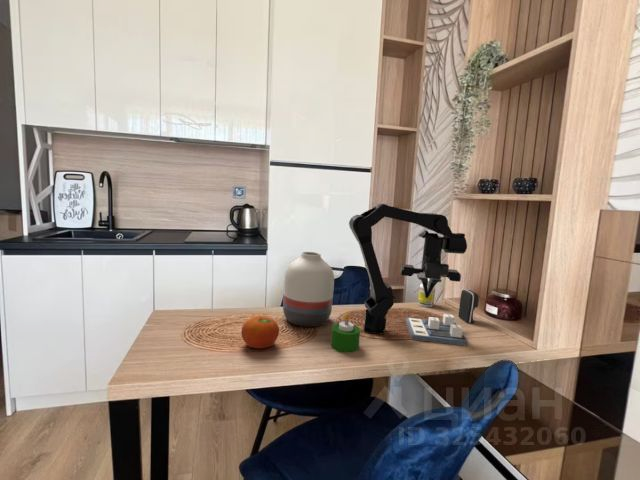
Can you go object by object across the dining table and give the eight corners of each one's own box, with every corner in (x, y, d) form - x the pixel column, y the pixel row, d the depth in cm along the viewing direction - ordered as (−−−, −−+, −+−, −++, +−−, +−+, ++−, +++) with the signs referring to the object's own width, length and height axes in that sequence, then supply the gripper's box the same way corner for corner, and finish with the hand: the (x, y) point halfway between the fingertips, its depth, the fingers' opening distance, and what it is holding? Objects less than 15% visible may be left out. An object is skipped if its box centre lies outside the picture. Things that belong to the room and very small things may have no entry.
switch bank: (411, 339, 113) (412, 333, 113) (405, 321, 129) (406, 316, 128) (466, 345, 111) (467, 339, 111) (453, 326, 127) (454, 321, 127)
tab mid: (429, 328, 118) (430, 319, 118) (427, 325, 121) (428, 316, 121) (438, 329, 118) (439, 320, 118) (436, 326, 121) (437, 317, 121)
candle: (326, 341, 107) (328, 310, 105) (350, 338, 110) (352, 308, 109) (338, 354, 99) (340, 320, 98) (363, 350, 103) (366, 317, 101)
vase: (313, 334, 111) (318, 260, 108) (271, 320, 120) (275, 252, 117) (339, 319, 126) (345, 254, 122) (300, 308, 134) (304, 247, 131)
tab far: (444, 325, 123) (445, 316, 122) (442, 321, 126) (443, 313, 125) (453, 326, 122) (454, 317, 122) (451, 322, 125) (452, 314, 125)
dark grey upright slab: (477, 323, 131) (481, 294, 130) (467, 323, 131) (471, 293, 129) (466, 316, 138) (470, 288, 137) (457, 316, 138) (461, 288, 136)
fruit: (236, 340, 103) (237, 314, 102) (269, 335, 109) (270, 310, 107) (248, 356, 94) (249, 328, 93) (284, 350, 99) (285, 323, 98)
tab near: (451, 336, 113) (453, 327, 112) (449, 333, 116) (450, 323, 115) (461, 337, 113) (462, 328, 112) (458, 334, 115) (460, 324, 115)
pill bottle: (424, 301, 154) (427, 277, 152) (436, 306, 149) (439, 280, 147) (414, 303, 151) (417, 278, 149) (426, 308, 145) (429, 282, 144)
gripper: (405, 252, 110) (399, 301, 112) (468, 259, 107) (461, 308, 110) (402, 247, 121) (397, 291, 123) (459, 253, 118) (453, 298, 120)
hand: (426, 297), depth 119 cm, fingers closed
